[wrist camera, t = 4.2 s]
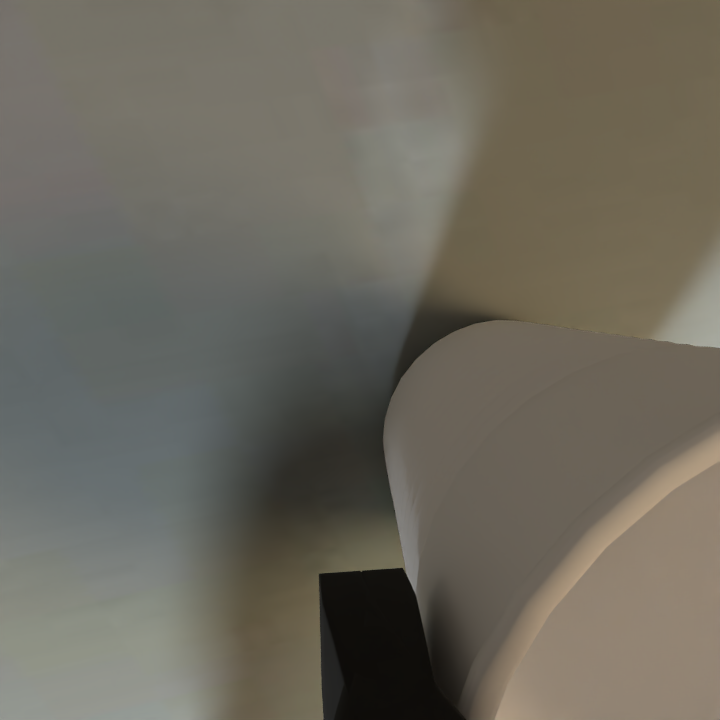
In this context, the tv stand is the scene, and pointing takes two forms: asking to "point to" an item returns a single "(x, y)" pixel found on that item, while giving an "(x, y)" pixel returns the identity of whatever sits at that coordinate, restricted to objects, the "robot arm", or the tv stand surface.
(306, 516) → the tv stand surface
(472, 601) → the cup
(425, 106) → the tv stand surface
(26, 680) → the tv stand surface
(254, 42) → the tv stand surface
